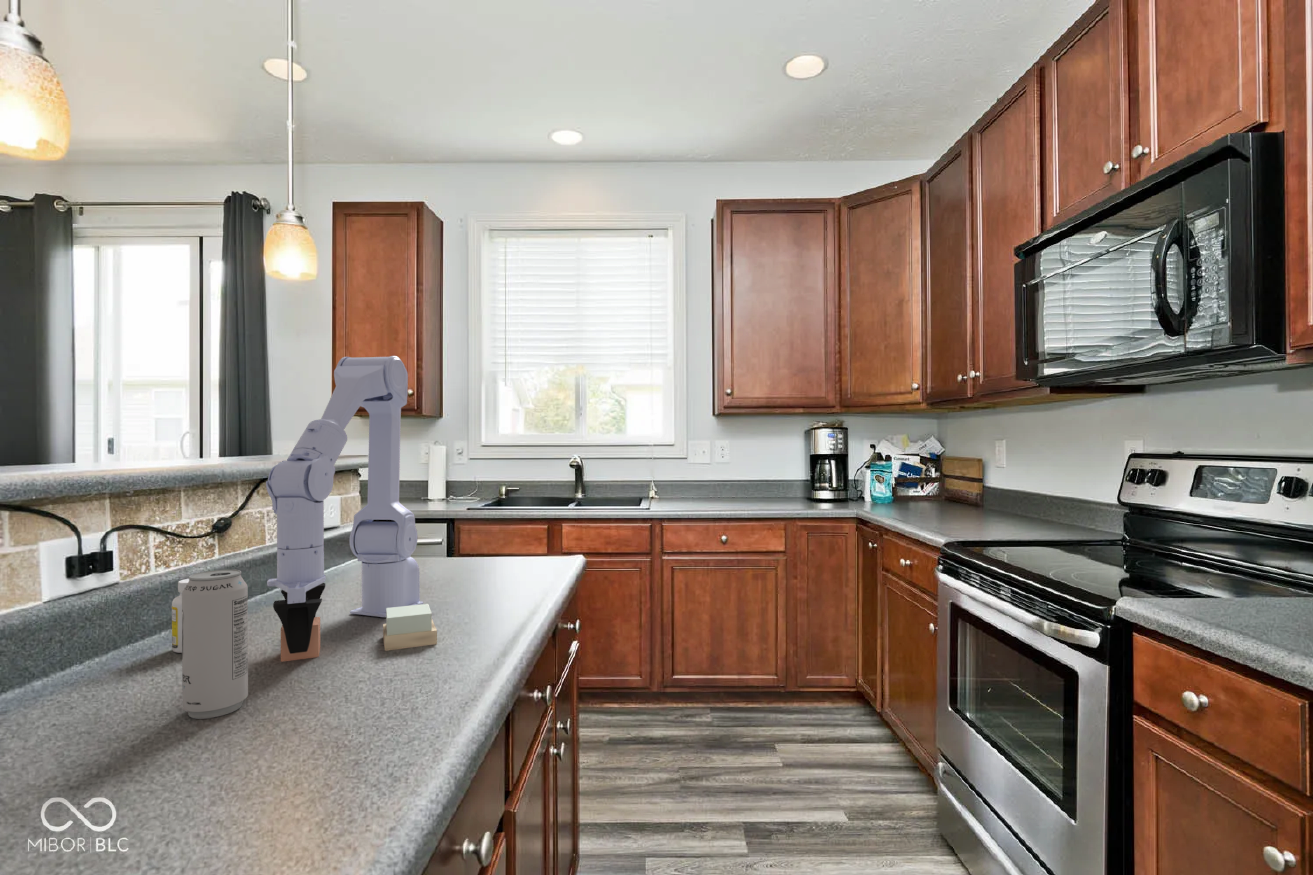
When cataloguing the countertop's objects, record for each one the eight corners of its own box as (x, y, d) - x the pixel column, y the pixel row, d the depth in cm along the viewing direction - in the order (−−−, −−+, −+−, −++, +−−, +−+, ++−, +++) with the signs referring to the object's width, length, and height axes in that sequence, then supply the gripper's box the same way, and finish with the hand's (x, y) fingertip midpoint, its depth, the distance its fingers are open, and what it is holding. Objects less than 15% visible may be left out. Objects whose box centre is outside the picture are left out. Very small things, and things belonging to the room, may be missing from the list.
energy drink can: (192, 702, 73) (191, 570, 73) (253, 695, 75) (253, 566, 76) (173, 724, 68) (173, 581, 68) (240, 715, 70) (240, 576, 70)
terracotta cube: (284, 652, 91) (284, 620, 91) (320, 647, 93) (320, 616, 93) (280, 662, 87) (280, 628, 87) (318, 657, 89) (318, 624, 89)
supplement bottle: (227, 642, 95) (226, 576, 96) (197, 654, 90) (197, 584, 90) (193, 641, 96) (192, 575, 96) (161, 653, 91) (161, 583, 91)
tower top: (386, 624, 97) (386, 607, 97) (428, 619, 100) (428, 603, 100) (387, 635, 92) (387, 618, 92) (431, 630, 94) (431, 613, 94)
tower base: (383, 640, 98) (383, 624, 98) (431, 634, 101) (431, 618, 101) (385, 654, 91) (385, 636, 91) (437, 647, 94) (437, 630, 94)
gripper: (273, 540, 95) (274, 633, 95) (259, 556, 82) (260, 664, 82) (327, 537, 98) (328, 627, 98) (322, 552, 85) (323, 656, 85)
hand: (301, 643), depth 90 cm, fingers open, 7 cm apart
